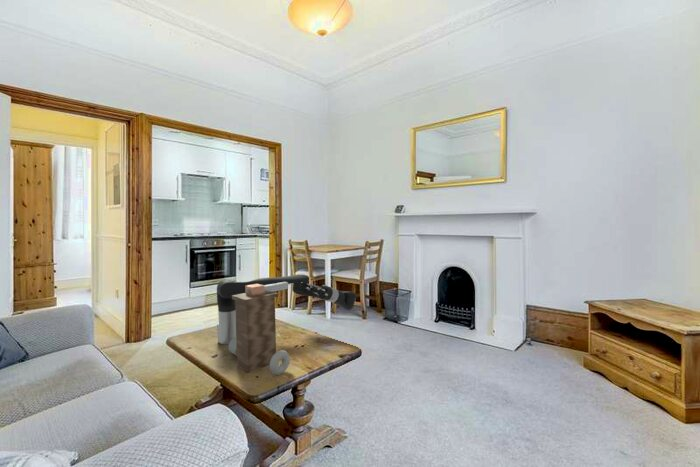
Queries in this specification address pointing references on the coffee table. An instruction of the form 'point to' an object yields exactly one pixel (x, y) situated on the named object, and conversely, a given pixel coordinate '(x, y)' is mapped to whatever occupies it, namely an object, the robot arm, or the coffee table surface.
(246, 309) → the walnut stand
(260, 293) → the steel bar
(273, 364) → the donut
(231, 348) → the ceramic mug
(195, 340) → the coffee table surface
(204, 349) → the coffee table surface
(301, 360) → the coffee table surface
